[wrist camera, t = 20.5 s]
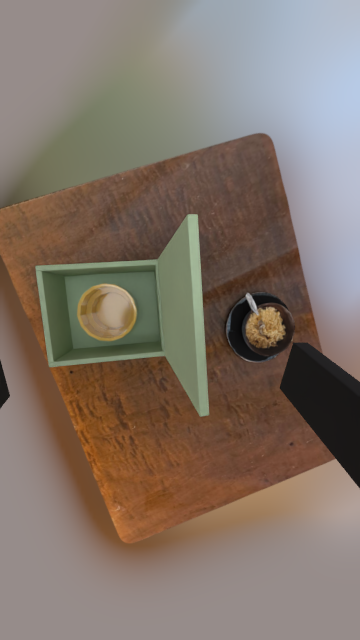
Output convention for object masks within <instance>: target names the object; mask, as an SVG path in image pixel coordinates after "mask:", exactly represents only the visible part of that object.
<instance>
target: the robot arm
mask: <svg viewBox="0 0 360 640" xmlns="http://www.w3.org/2000/svg"><path fill="white" fill-rule="evenodd" d="M280 389H281V390H282V392H283V393H284V394H285V395H286V397H287V398H288V399H289V400H290V402H291V403H292V404H293V405H294V407H295V408H296V409H297V410H298V412H299V413H300V414H301V415H302V417H303V418H304V419H305V420H306V422H307V423H308V424H309V425H310V427H311V428H312V429H313V430H314V432H315V433H316V434H317V435H318V437H319V438H320V439H321V440H322V442H323V443H324V444H325V445H326V447H327V448H328V449H329V450H330V452H331V453H332V454H333V455H334V457H335V458H336V459H337V461H338V462H339V463H340V464H341V466H342V467H343V468H344V469H345V470H346V472H347V473H348V474H349V475H350V477H351V478H352V479H353V481H354V482H355V483H356V484H357V486H358V487H359V488H360V382H359V381H358V380H356V379H355V378H354V377H352V376H351V375H350V374H348V373H347V372H346V371H344V370H343V369H342V368H340V367H339V366H338V365H336V364H335V363H334V362H332V361H331V360H330V359H328V358H327V357H326V356H324V355H323V354H322V353H320V352H319V351H318V350H316V349H315V348H314V347H312V346H311V345H310V344H308V343H293V345H292V349H291V352H290V355H289V359H288V362H287V365H286V369H285V372H284V375H283V378H282V382H281V385H280ZM9 396H10V394H9V391H8V387H7V383H6V379H5V376H4V372H3V369H2V365H1V361H0V408H1V407H2V405H3V404H4V403H5V402H6V400H7V399H8V398H9Z"/></svg>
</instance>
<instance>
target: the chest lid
mask: <svg viewBox="0 0 360 640" xmlns="http://www.w3.org/2000/svg"><path fill="white" fill-rule="evenodd" d="M158 269H159V282H160V295H161V308H162V320H163V333H164V346H165V357H166V358H167V360H168V362H169V364H170V365H171V367H172V369H173V370H174V372H175V374H176V376H177V377H178V379H179V381H180V383H181V384H182V386H183V388H184V389H185V391H186V393H187V395H188V396H189V398H190V400H191V402H192V403H193V405H194V407H195V408H196V410H197V412H198V414H199V415H200V416H207V415H209V403H208V386H207V369H206V351H205V334H204V317H203V299H202V282H201V265H200V247H199V230H198V215H196V214H188V215H187V216H186V218H185V219H184V221H183V222H182V224H181V225H180V227H179V228H178V230H177V231H176V233H175V234H174V236H173V237H172V239H171V240H170V242H169V243H168V245H167V246H166V248H165V249H164V251H163V252H162V254H161V255H160V257H159V258H158Z"/></svg>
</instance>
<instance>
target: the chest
mask: <svg viewBox="0 0 360 640" xmlns="http://www.w3.org/2000/svg"><path fill="white" fill-rule="evenodd" d="M35 267H36V276H37V283H38V290H39V298H40V305H41V312H42V320H43V327H44V334H45V342H46V349H47V356H48V362H49V367H56V366H66V365H76V364H87V363H97V362H107V361H117V360H127V359H137V358H147V357H157V356H165V346H164V333H163V320H162V308H161V295H160V282H159V269H158V260H140V261H120V262H101V263H81V264H62V265H42V266H35ZM103 283H106V284H115V285H118V286H121V287H123V288H125V289H127V290H129V291H130V292H131V293H132V294H133V295H134V297H135V298H136V299H137V302H138V306H139V316H138V319H137V321H136V323H135V325H134V326H133V328H132V330H131V331H130V332H129V333H127V334H126V335H125V336H124V337H123V338H120V339H117V340H114V341H100V340H98V339H96V338H93V337H91V336H89V335H88V334H87V333H86V332H85V330H84V329H83V328H82V327H81V325H80V322H79V320H78V317H77V310H78V303H79V301H80V299H81V297H82V295H83V294H84V293H85V292H86V291H87V290H89V289H90V288H91V287H92V286H96V285H99V284H103Z"/></svg>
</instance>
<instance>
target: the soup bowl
mask: <svg viewBox="0 0 360 640" xmlns="http://www.w3.org/2000/svg"><path fill="white" fill-rule="evenodd" d="M294 330H295V323H294V320H293V318H292V315H291V314H290V312H289V310H288V309H287V307H286V305H285V304H284V303H283V302H282V301H281V300H280V299H279V298H278V297H277V296H275V295H273V294H270V293H265V292H256V293H252V294H249V293H247V294H246V296H245V297H244V298H242V299H241V300H239V302H238V303H237V304H236V305H235V306H234V307H233V309H232V311H231V313H230V314H229V316H228V319H227V322H226V334H227V337H228V341H229V343H230V345H231V347H232V349H233V350H234V352H235V353H236V354H237V355H238V356H240V357H241V358H242V359H244V360H246V361H249V362H264V361H268V360H270V359H273V358H275V357H276V356H278V355H279V354H280V353H281V352H282V351H284V350H285V349H286V348H287V347H288V346H289V344H290V343H291V342H292V339H293V336H294Z"/></svg>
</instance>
